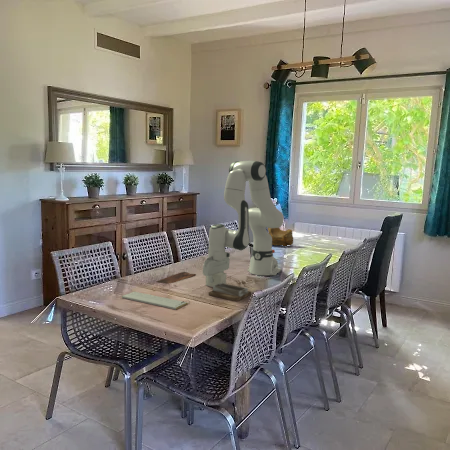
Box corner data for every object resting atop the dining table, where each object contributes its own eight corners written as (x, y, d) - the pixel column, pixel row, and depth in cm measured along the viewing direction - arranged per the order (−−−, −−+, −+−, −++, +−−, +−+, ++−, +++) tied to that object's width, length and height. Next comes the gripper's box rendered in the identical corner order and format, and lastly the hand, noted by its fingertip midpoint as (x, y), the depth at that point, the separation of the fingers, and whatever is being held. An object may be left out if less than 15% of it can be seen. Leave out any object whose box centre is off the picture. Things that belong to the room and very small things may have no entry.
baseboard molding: (137, 293, 221) (121, 299, 211) (137, 287, 221) (121, 293, 211) (190, 303, 207) (175, 311, 197) (190, 297, 207) (175, 304, 196)
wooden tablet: (167, 283, 236) (153, 277, 241) (167, 287, 236) (153, 281, 241) (197, 273, 258) (184, 269, 263) (197, 277, 258) (183, 272, 263)
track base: (224, 288, 231) (224, 281, 230) (250, 294, 222) (251, 286, 222) (208, 295, 219) (209, 287, 219) (236, 301, 211) (236, 293, 210)
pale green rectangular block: (208, 284, 239) (209, 269, 238) (226, 287, 233) (226, 273, 232) (205, 285, 237) (205, 270, 236) (222, 289, 231) (223, 274, 230)
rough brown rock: (259, 245, 360) (259, 227, 357) (270, 241, 372) (271, 224, 369) (283, 251, 345) (283, 232, 342) (294, 246, 358) (295, 228, 354)
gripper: (210, 259, 222) (209, 286, 224) (231, 253, 239) (231, 277, 241) (200, 257, 226) (199, 283, 228) (222, 251, 243) (221, 276, 245)
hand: (215, 280), depth 235 cm, fingers open, 6 cm apart
